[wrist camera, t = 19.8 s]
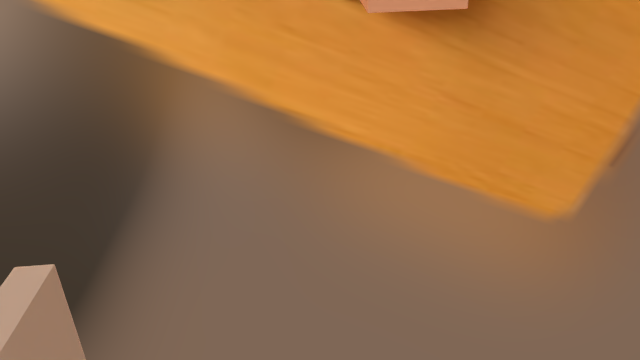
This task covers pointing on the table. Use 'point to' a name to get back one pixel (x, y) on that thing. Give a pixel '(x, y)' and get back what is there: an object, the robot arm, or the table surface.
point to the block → (412, 5)
